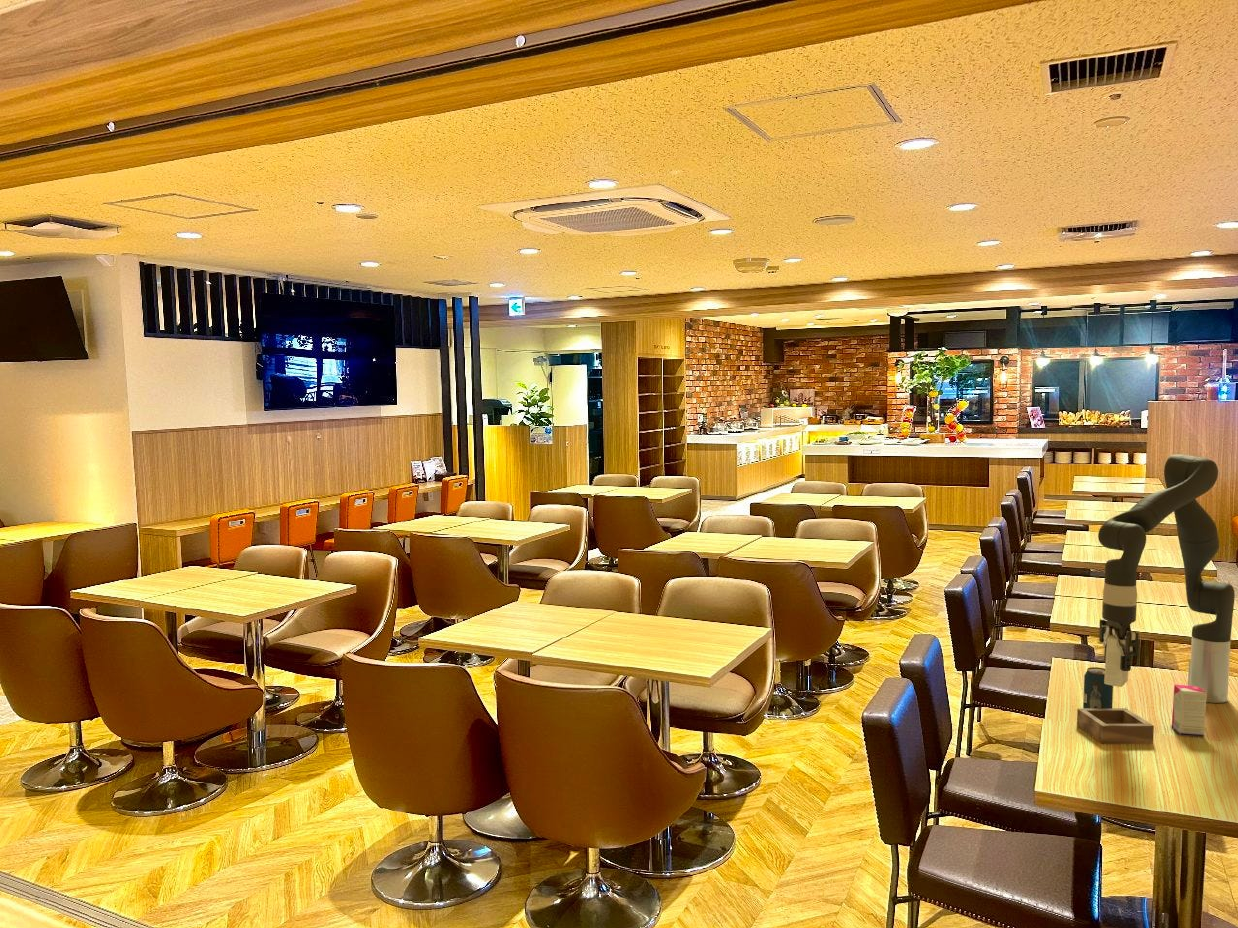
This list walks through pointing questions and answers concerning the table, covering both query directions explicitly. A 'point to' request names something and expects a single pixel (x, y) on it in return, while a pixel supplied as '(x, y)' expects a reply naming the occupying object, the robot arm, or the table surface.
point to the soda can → (1097, 689)
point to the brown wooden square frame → (1115, 726)
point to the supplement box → (1189, 710)
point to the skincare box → (1114, 664)
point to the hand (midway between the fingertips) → (1117, 665)
